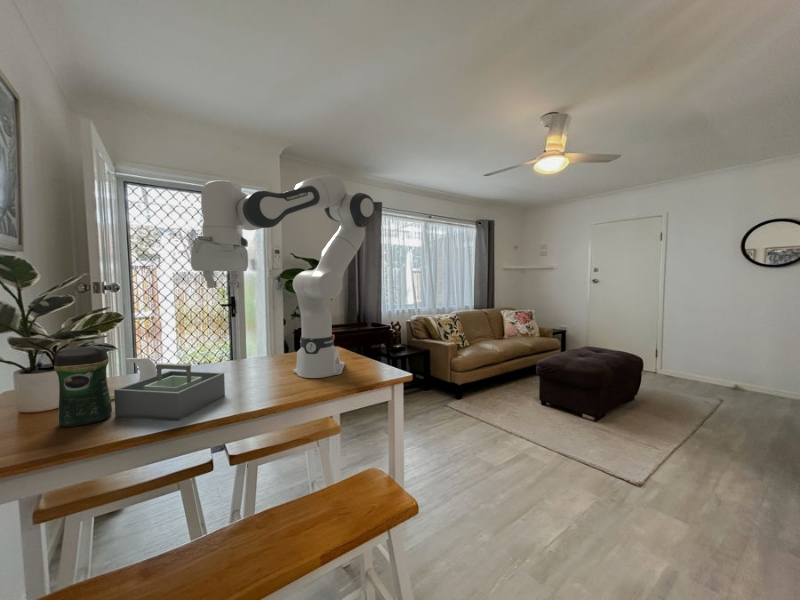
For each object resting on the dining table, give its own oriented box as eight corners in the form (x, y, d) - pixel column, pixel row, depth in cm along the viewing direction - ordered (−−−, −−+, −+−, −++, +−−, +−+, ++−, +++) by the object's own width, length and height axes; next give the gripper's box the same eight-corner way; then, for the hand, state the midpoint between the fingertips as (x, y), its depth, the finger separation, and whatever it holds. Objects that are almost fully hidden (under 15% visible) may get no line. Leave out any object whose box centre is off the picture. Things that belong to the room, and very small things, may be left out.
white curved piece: (127, 398, 98) (125, 358, 98) (142, 391, 105) (141, 353, 104) (142, 398, 99) (141, 358, 98) (157, 391, 105) (155, 354, 104)
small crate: (173, 395, 99) (171, 359, 98) (202, 397, 98) (201, 361, 97) (144, 407, 89) (142, 368, 89) (177, 409, 88) (175, 369, 88)
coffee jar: (115, 411, 89) (112, 342, 88) (105, 422, 82) (101, 348, 81) (67, 417, 85) (63, 345, 84) (52, 430, 78) (47, 352, 77)
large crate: (171, 392, 104) (170, 370, 103) (224, 395, 101) (224, 373, 101) (115, 416, 86) (114, 389, 85) (178, 420, 84) (177, 393, 83)
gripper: (205, 234, 84) (208, 288, 85) (251, 241, 104) (253, 285, 105) (182, 234, 85) (185, 288, 86) (232, 242, 105) (234, 285, 106)
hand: (223, 287), depth 96 cm, fingers open, 8 cm apart
